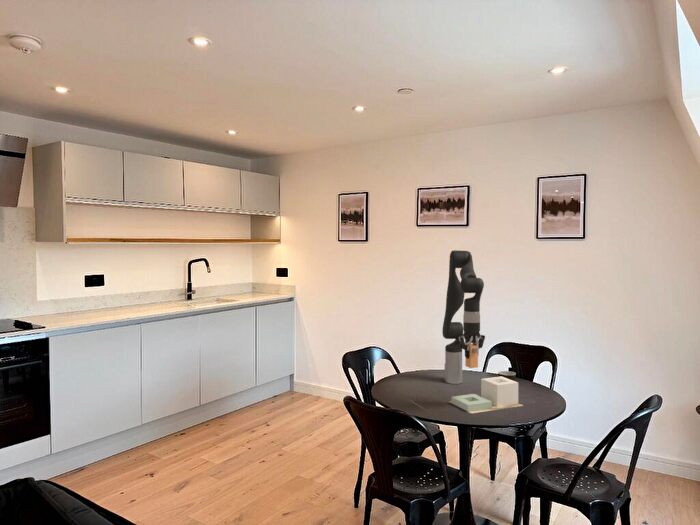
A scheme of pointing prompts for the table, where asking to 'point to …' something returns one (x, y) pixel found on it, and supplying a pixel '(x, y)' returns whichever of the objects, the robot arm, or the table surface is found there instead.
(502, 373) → the coffee mug
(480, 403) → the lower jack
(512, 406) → the jack board
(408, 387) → the table surface
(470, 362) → the plug
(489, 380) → the white socket block
